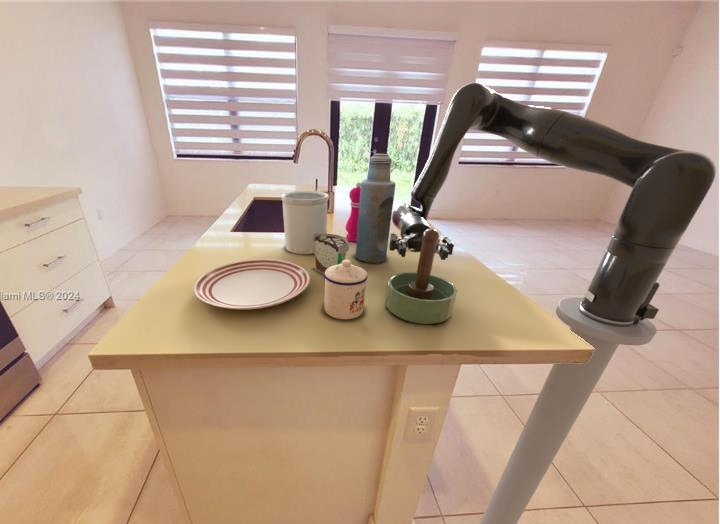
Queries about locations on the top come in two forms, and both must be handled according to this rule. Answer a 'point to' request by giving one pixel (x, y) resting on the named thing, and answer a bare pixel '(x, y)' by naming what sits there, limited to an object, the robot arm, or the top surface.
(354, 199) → the pepper mill
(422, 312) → the bowl
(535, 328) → the top surface
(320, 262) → the slice of cake
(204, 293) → the dinner plate
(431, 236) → the wooden pestle
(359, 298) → the teacup with lid
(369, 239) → the bottle
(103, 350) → the top surface
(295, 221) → the utensil holder
